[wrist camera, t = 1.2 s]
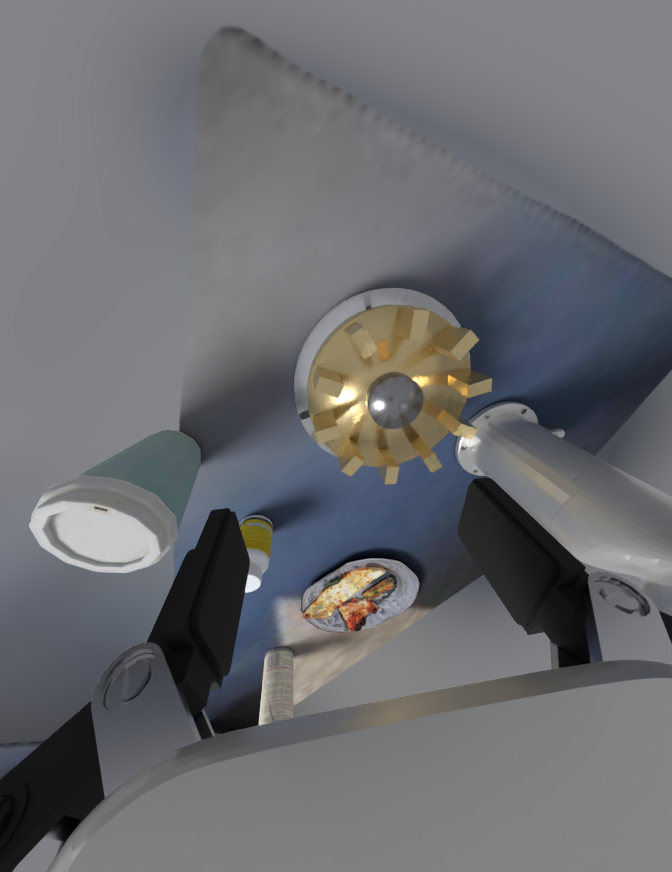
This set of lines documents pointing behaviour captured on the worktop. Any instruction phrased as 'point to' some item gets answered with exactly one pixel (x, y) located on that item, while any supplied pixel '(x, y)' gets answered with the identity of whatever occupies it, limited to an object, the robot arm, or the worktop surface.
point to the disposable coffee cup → (121, 506)
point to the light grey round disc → (336, 318)
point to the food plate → (359, 596)
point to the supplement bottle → (257, 547)
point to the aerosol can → (277, 686)
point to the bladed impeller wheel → (392, 388)
